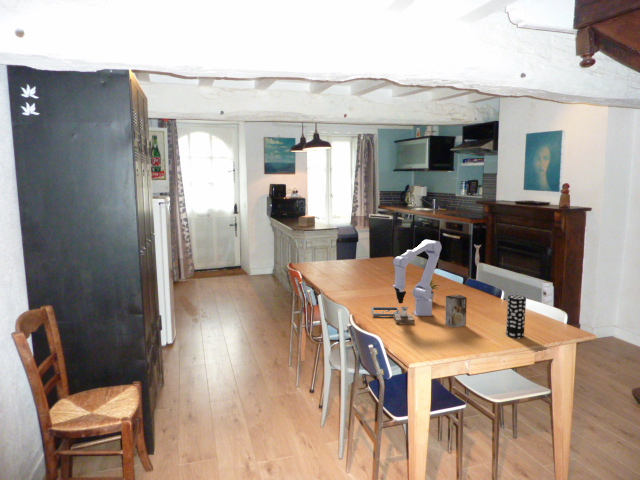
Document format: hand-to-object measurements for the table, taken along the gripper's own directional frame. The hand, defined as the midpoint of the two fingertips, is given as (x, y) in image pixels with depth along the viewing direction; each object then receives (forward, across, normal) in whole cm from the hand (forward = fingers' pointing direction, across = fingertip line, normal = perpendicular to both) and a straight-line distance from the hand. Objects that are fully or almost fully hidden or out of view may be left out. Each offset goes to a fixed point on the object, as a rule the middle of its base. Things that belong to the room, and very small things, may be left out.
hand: (399, 301), depth 261 cm
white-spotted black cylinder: (+11, +25, +56) cm, 62 cm away
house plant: (+11, -36, +21) cm, 44 cm away
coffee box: (+11, +10, +29) cm, 32 cm away
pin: (+10, +4, +2) cm, 11 cm away
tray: (+10, -10, -7) cm, 16 cm away
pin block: (+10, +4, +2) cm, 11 cm away
